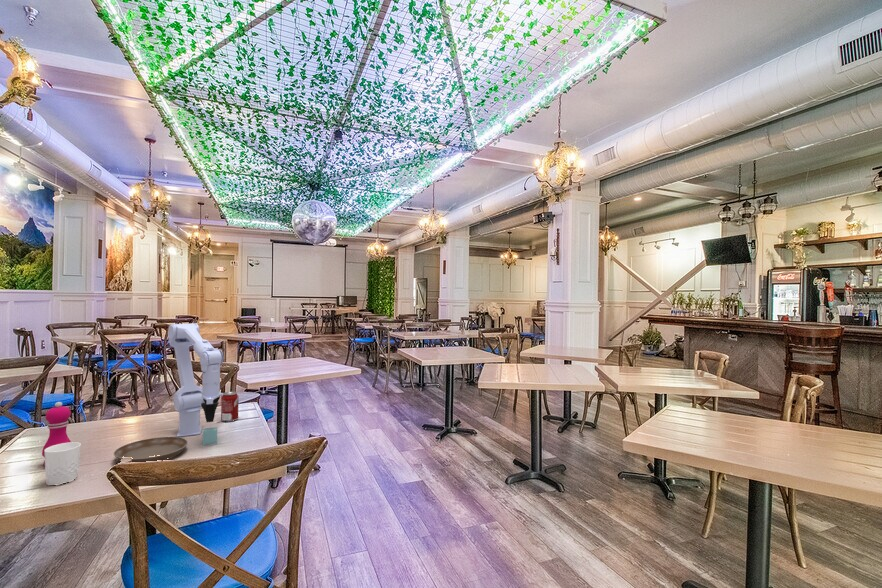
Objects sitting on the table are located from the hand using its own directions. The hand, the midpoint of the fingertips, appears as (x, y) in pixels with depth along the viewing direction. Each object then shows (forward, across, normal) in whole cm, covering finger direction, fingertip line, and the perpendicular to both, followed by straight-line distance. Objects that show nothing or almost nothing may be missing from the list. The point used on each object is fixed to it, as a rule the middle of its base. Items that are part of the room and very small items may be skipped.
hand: (210, 418), depth 153 cm
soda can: (+9, +27, -6) cm, 29 cm away
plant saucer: (+9, -6, +17) cm, 20 cm away
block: (+9, 0, 0) cm, 9 cm away
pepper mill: (+9, -2, +43) cm, 44 cm away
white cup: (+9, -18, +37) cm, 42 cm away
